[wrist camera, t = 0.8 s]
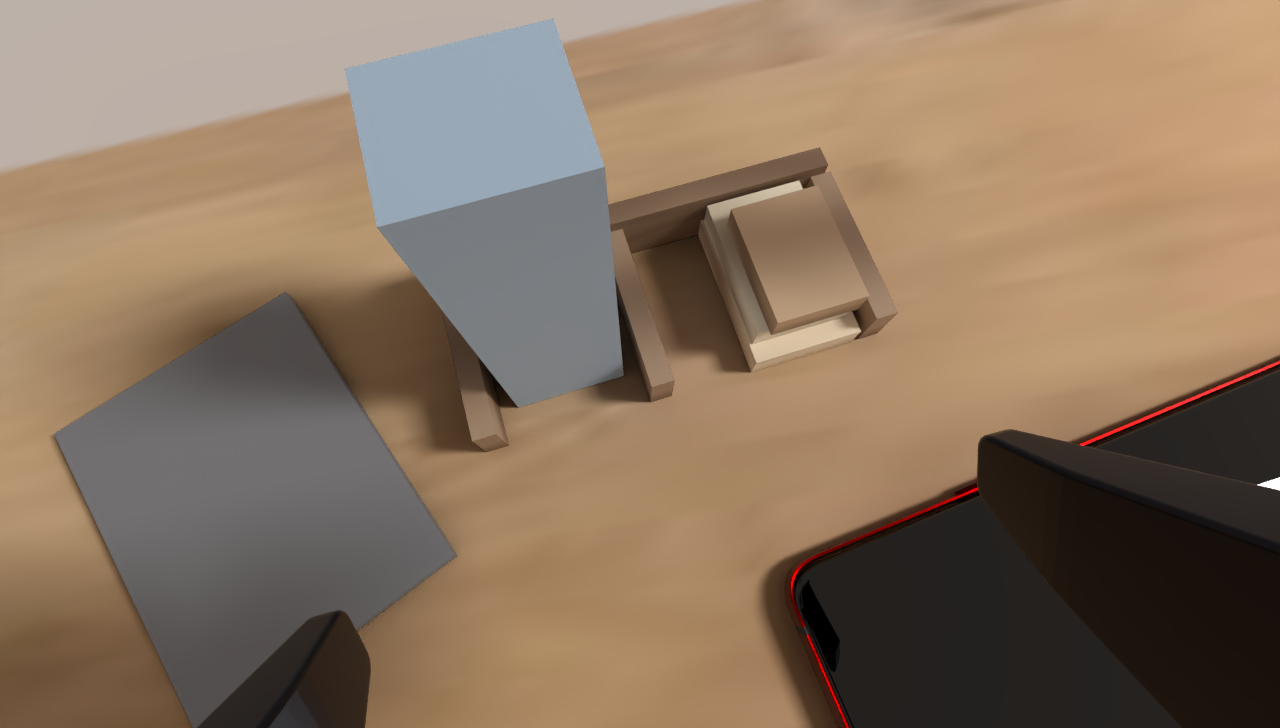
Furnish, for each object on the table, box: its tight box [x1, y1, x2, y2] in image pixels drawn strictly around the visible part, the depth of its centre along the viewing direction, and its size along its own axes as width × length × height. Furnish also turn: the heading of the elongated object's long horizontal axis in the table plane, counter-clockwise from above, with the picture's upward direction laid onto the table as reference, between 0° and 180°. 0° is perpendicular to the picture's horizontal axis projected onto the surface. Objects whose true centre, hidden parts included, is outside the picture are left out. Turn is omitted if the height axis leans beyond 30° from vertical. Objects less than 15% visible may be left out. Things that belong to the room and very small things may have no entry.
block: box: [345, 19, 624, 407], centre depth 17 cm, size 4×4×12 cm
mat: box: [54, 292, 457, 728], centre depth 21 cm, size 12×9×1 cm
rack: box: [442, 147, 898, 452], centre depth 22 cm, size 7×15×2 cm, turn 107°
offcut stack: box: [698, 181, 870, 372], centre depth 22 cm, size 6×4×3 cm, turn 17°
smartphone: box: [785, 359, 1280, 728], centre depth 20 cm, size 12×2×25 cm
